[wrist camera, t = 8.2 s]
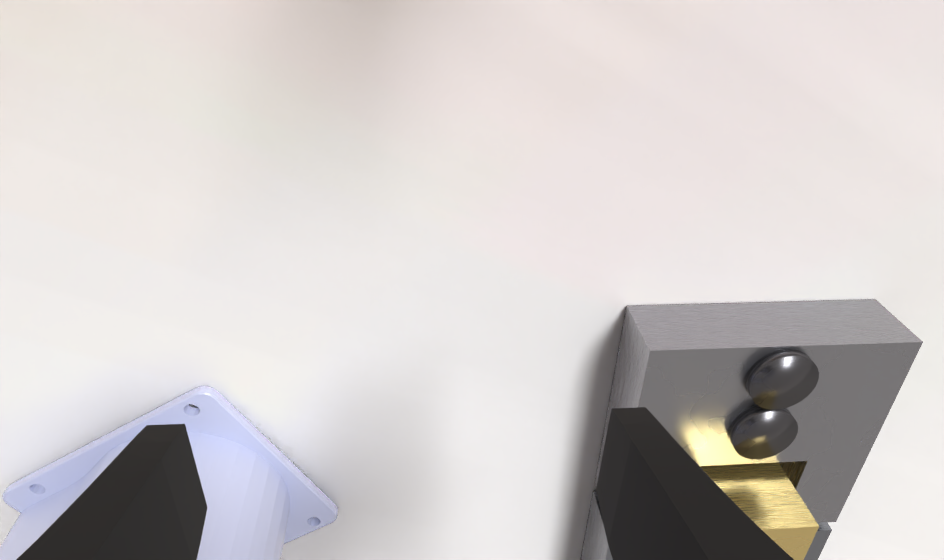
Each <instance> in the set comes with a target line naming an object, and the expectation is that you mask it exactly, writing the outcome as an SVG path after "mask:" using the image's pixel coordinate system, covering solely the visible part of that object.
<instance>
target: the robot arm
mask: <svg viewBox="0 0 944 560" xmlns="http://www.w3.org/2000/svg"><path fill="white" fill-rule="evenodd" d="M189 404H192V405H195V406H197V407H198V408H193V407H191V406H189ZM596 491H597V496H598V500H599V505H600V510H601V515H602V520H603V524H604V529H605V533H606V538H607V542H608V546H609V549H610V552H611V555H612V558H613V560H794V559H793V558H792V557H791V556H789V555H788V554H787V553H786V552H785V551H784V550H783V549H782V548H781V547H780V546H779V545H778V544H776V543H775V542H774V541H773V540H772V539H771V538H770V537H769V536H768V535H767V534H766V533H765V532H764V531H763V530H762V529H760V528H759V527H758V526H757V525H756V524H755V523H754V522H753V521H752V520H751V519H750V518H749V517H748V516H747V515H746V514H745V513H744V512H743V511H742V510H741V509H740V508H739V507H738V506H737V505H736V504H735V503H734V502H733V501H732V500H731V499H730V498H729V497H728V496H727V495H726V494H725V493H724V492H723V490H722V489H721V488H720V487H719V486H718V485H717V484H716V483H715V482H714V481H713V480H712V479H711V478H710V477H709V476H708V475H707V474H706V473H705V472H704V471H703V470H702V469H701V467H700V466H699V465H698V464H697V463H696V462H695V461H694V460H693V459H692V458H691V457H690V455H689V454H688V453H687V452H686V451H685V450H684V449H683V448H682V447H681V446H680V444H679V443H678V442H677V441H676V440H675V439H674V438H673V437H672V436H671V434H670V433H669V432H668V431H667V430H666V429H665V428H664V427H663V425H662V424H661V423H660V422H659V421H658V420H657V419H656V418H655V417H654V416H653V414H652V413H651V412H650V411H649V410H648V409H647V408H646V407H637V408H612V409H611V414H610V419H609V424H608V430H607V435H606V440H605V445H604V451H603V456H602V461H601V466H600V472H599V477H598V482H597V487H596ZM2 497H3V500H4V501H5V502H6V503H7V504H8V505H9V506H11V507H12V508H14V509H15V510H17V511H18V512H20V513H21V514H20V515H19V517H18V519H17V520H16V522H15V524H14V525H13V527H12V529H11V530H10V532H9V533H8V535H7V537H6V538H5V540H4V542H3V543H2V545H1V547H0V560H281V555H282V550H283V544H285V543H288V542H290V541H292V540H294V539H296V538H299V537H301V536H303V535H305V534H308V533H310V532H312V531H314V530H316V529H319V528H321V527H323V526H325V525H328V524H330V523H332V522H333V521H335V520H336V518H337V513H338V508H337V506H336V505H335V504H334V503H333V502H332V501H331V500H330V499H329V498H328V497H327V496H326V495H325V494H324V493H323V492H322V491H321V490H320V489H319V488H318V487H317V486H316V485H315V484H314V483H313V482H312V481H310V480H309V479H308V478H307V477H306V476H305V475H304V474H303V473H302V472H301V471H300V470H299V469H298V468H297V467H296V466H295V465H294V464H293V463H292V462H291V461H290V460H289V459H288V458H287V457H286V456H285V455H283V454H282V453H281V452H280V451H279V450H278V449H277V448H276V447H275V446H274V445H273V444H272V443H271V442H270V441H269V440H268V439H267V438H266V437H265V436H264V435H263V434H262V433H261V432H260V431H259V430H257V429H256V428H255V427H254V426H253V425H252V424H251V423H250V422H249V421H248V420H247V419H246V418H245V417H244V416H243V415H242V414H241V413H240V412H239V411H238V410H237V409H236V408H235V407H234V406H233V405H231V404H230V403H229V402H228V401H227V400H226V399H225V398H224V397H223V396H222V395H221V394H220V393H219V392H218V391H217V390H215V389H214V388H211V387H208V386H201V387H197V388H195V389H193V390H191V391H189V392H187V393H185V394H183V395H181V396H179V397H178V398H176V399H174V400H172V401H170V402H168V403H166V404H164V405H162V406H160V407H158V408H156V409H154V410H153V411H151V412H149V413H147V414H145V415H143V416H141V417H139V418H137V419H135V420H133V421H131V422H129V423H127V424H126V425H124V426H122V427H120V428H118V429H116V430H114V431H112V432H110V433H108V434H106V435H104V436H102V437H101V438H99V439H97V440H95V441H93V442H91V443H89V444H87V445H85V446H83V447H81V448H79V449H77V450H75V451H74V452H72V453H70V454H68V455H66V456H64V457H62V458H60V459H58V460H56V461H54V462H52V463H50V464H49V465H47V466H45V467H43V468H41V469H39V470H37V471H35V472H33V473H31V474H29V475H27V476H25V477H23V478H22V479H20V480H18V481H16V482H14V483H12V484H10V485H9V486H8V487H7V488H6V490H5V491H4V493H3V496H2ZM314 517H316V518H314Z"/></svg>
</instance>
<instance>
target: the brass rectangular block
mask: <svg viewBox="0 0 944 560" xmlns="http://www.w3.org/2000/svg"><path fill="white" fill-rule="evenodd" d="M700 467H701V469H702V470H703V471H704V472H705V473H706V474H707V475H708V476H709V477H710V478H711V479H712V480H713V481H714V482H715V483H716V484H717V485H718V486H719V487H720V488H721V489H722V490H723V492H724V493H725V494H726V495H727V496H728V497H729V498H730V499H731V500H732V501H733V502H734V503H735V504H736V505H737V506H738V507H739V508H740V509H741V510H742V511H743V512H744V513H745V514H746V515H747V516H748V517H749V518H750V519H751V520H752V521H753V522H754V523H755V524H756V525H757V526H758V527H759V528H760V529H762V530H763V531H764V532H765V533H766V534H767V535H768V536H769V537H770V538H771V539H772V540H773V541H774V542H775V543H776V544H778V545H779V546H780V547H781V548H782V549H783V550H784V551H785V552H786V553H787V554H788V555H789V556H791V557H792V558H793V559H794V560H804V558H805V556H806V554H807V552H808V549H809V547H810V545H811V543H812V541H813V539H814V537H815V534H816V532H817V530H818V528H819V525H818V524H817V522H816V521H815V519H814V517H813V516H812V514H811V513H810V511H809V509H808V508H807V506H806V505H805V503H804V502H803V500H802V498H801V497H800V495H799V494H798V492H797V491H796V489H795V487H794V486H793V484H792V483H791V481H790V480H789V478H788V476H787V475H786V473H785V472H784V470H783V469H782V467H781V465H780V464H779V462H775V463H754V464H733V465H712V466H700Z"/></svg>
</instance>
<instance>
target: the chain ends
mask: <svg viewBox="0 0 944 560" xmlns="http://www.w3.org/2000/svg"><path fill="white" fill-rule="evenodd" d="M922 343H923V342H922V341H921V340H920V339H919V338H918V337H917V336H916V335H914V334H913V333H912V332H911V331H910V330H909V329H908V328H907V327H906V326H904V325H903V324H902V323H901V322H900V321H899V320H898V319H897V318H896V317H894V316H893V315H892V314H891V313H890V312H889V311H888V310H887V309H886V308H884V307H883V306H882V305H881V304H880V303H879V302H878V301H877V300H876V299H867V300H828V301H789V302H750V303H711V304H672V305H633V306H627V307H626V313H625V318H624V324H623V329H622V335H621V340H620V346H619V351H618V357H617V362H616V368H615V373H614V379H613V384H612V390H611V395H610V401H609V406H608V412H607V417H606V423H605V429H604V434H603V440H602V445H601V451H600V456H599V462H598V467H597V473H596V478H595V485H596V487H597V482H598V477H599V472H600V466H601V461H602V456H603V451H604V445H605V440H606V435H607V430H608V424H609V419H610V414H611V409H612V408H637V407H646V408H647V409H648V410H649V411H650V412H651V413H652V414H653V416H654V417H655V418H656V419H657V420H658V421H659V422H660V423H661V424H662V425H663V427H664V428H665V429H666V430H667V431H668V432H669V433H670V434H671V436H672V437H673V438H674V439H675V440H676V441H677V442H678V443H679V444H680V446H681V447H682V448H683V449H684V450H685V451H686V452H687V453H688V454H689V455H690V457H691V458H692V459H693V460H694V461H695V462H696V463H697V464H698V465H699V466H712V465H733V464H754V463H775V462H779V464H780V465H781V467H782V469H783V470H784V472H785V473H786V475H787V476H788V478H789V480H790V481H791V483H792V484H793V486H794V487H795V489H796V491H797V492H798V494H799V495H800V497H801V498H802V500H803V502H804V503H805V505H806V506H807V508H808V509H809V511H810V513H811V514H812V516H813V517H814V519H815V521H816V522H817V524H818V525H819V528H818V530H817V532H816V534H815V537H814V539H813V541H812V543H811V545H810V547H809V549H808V552H807V554H806V556H805V558H804V560H818V558H819V556H820V554H821V552H822V549H823V547H824V545H825V543H826V541H827V539H828V537H829V535H830V533H831V531H832V529H831V528H830V526H829V525H828V523H827V522H836V520H837V518H838V516H839V514H840V512H841V510H842V508H843V506H844V504H845V502H846V500H847V498H848V496H849V494H850V492H851V489H852V487H853V485H854V483H855V481H856V479H857V477H858V475H859V473H860V471H861V469H862V467H863V465H864V463H865V461H866V458H867V456H868V454H869V452H870V450H871V448H872V446H873V444H874V442H875V440H876V438H877V436H878V434H879V432H880V429H881V427H882V425H883V423H884V421H885V419H886V417H887V415H888V413H889V411H890V409H891V407H892V405H893V403H894V401H895V398H896V396H897V394H898V392H899V390H900V388H901V386H902V384H903V382H904V380H905V378H906V376H907V374H908V372H909V370H910V367H911V365H912V363H913V361H914V359H915V357H916V355H917V353H918V351H919V349H920V347H921V345H922ZM581 560H613V558H612V555H611V552H610V549H609V546H608V542H607V538H606V533H605V529H604V524H603V520H602V515H601V510H600V505H599V500H598V496H597V491H593V495H592V500H591V506H590V511H589V517H588V522H587V528H586V533H585V539H584V544H583V550H582V555H581Z"/></svg>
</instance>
